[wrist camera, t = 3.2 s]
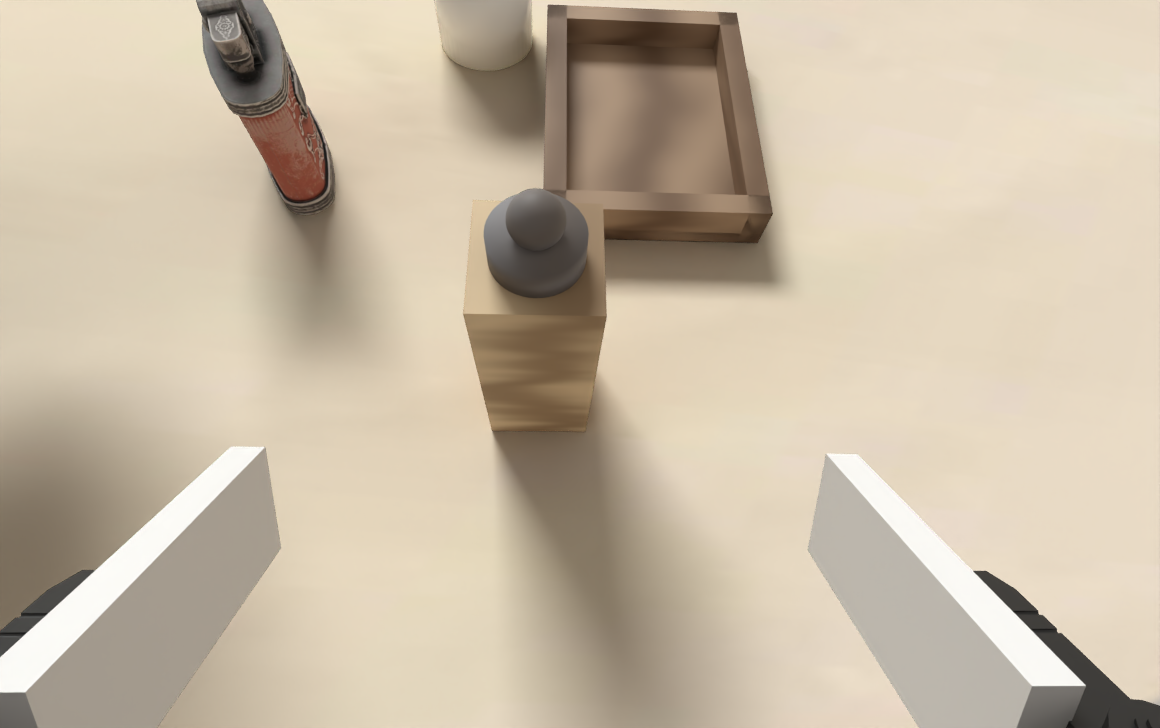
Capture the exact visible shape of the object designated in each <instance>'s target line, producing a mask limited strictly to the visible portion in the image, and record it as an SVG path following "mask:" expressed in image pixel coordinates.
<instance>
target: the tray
mask: <svg viewBox="0 0 1160 728" xmlns="http://www.w3.org/2000/svg"><path fill="white" fill-rule="evenodd" d="M543 190H546V191H549V192H551V193H552V194H555V195H558V196H560V197H563V198H564V199H566V200H568V201H569V202H571V203H595V204H603V216H604V239H626V240H667V241H707V242H748V243H758V241H759V239H760V237H761V235H762V233H763V231H764V229H765V228H766V226H767V224H768V222H769V220H770V218H771V216H772V214H773V212H772V207H771V201H770V196H769V190H768V185H767V179H766V174H765V168H764V163H763V157H762V151H761V146H760V140H759V135H758V129H757V124H756V118H755V113H754V107H753V101H752V96H751V90H750V85H749V79H748V74H747V68H746V63H745V57H744V52H743V46H742V40H741V35H740V29H739V24H738V18H737V13H727V12H704V11H681V10H658V9H635V8H612V7H589V6H566V5H548V14H547V57H546V101H545V144H544V187H543Z"/></svg>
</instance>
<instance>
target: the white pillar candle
mask: <svg viewBox="0 0 1160 728" xmlns="http://www.w3.org/2000/svg"><path fill="white" fill-rule="evenodd" d="M434 3H435V9H436V15H437V21H438V26H439V32H440V38H441V44H442V47H443V50H444V52H445V53H446V54H447V56H448V57H449V58H450V59H451V60H453V61H454V62H456V63H457V64H459V65H461V66H464V67H466V68H469V69H474V70H480V71H494V70H500V69H504V68H508V67H510V66H513V65H515V64H517V63H518V62H520V61H521V60H522V59H524V58H525V57H526V55H527V54H528V53H529V51H530V49H531V47H532V41H533V39H532V0H434Z"/></svg>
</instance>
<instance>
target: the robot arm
mask: <svg viewBox="0 0 1160 728" xmlns="http://www.w3.org/2000/svg"><path fill="white" fill-rule="evenodd" d="M280 549H281V544H280V538H279V531H278V525H277V519H276V512H275V506H274V500H273V493H272V487H271V481H270V474H269V468H268V462H267V455H266V449H265V447H230V448H229V449H228V450H227V451H226V452H225V453H223V454H222V455H221V456H220V457H219V458H218V459H217V460H216V461H215V462H214V463H212V464H211V465H210V466H209V467H208V468H207V469H206V470H205V471H204V472H203V473H202V474H200V475H199V476H198V477H197V478H196V479H195V480H194V481H193V482H192V483H191V484H189V485H188V486H187V487H186V488H185V489H184V490H183V491H182V492H181V493H180V494H179V495H177V496H176V497H175V498H174V499H173V500H172V501H171V502H170V503H169V504H168V505H166V506H165V507H164V508H163V509H162V510H161V511H160V512H159V513H158V514H157V515H156V516H154V517H153V518H152V519H151V520H150V521H149V522H148V523H147V524H146V525H145V526H143V527H142V528H141V529H140V530H139V531H138V532H137V533H136V534H135V535H134V536H133V537H131V538H130V539H129V540H128V541H127V542H126V543H125V544H124V545H123V546H122V547H120V548H119V549H118V550H117V551H116V552H115V553H114V554H113V555H112V556H111V557H110V558H108V559H107V560H106V561H105V562H104V563H103V564H102V565H101V566H100V567H99V568H97V569H96V570H82V571H80V572H78V573H77V574H75V575H73V576H71V577H70V578H68V579H66V580H64V581H63V582H61V583H59V584H57V585H56V586H54V587H52V588H50V589H49V590H47V591H46V592H45V593H44V594H43V595H41V596H40V597H39V598H38V599H37V600H36V601H34V602H33V603H32V604H31V605H30V606H29V607H27V608H26V609H25V610H24V611H23V612H22V613H21V616H20V618H15V619H14V620H12V621H11V622H10V623H9V624H8V625H7V626H6V627H4V628H3V629H2V630H1V631H0V728H157V727H158V726H159V724H160V723H161V721H162V720H163V718H164V717H165V715H166V714H167V713H168V711H169V710H170V708H171V707H172V705H173V704H174V702H175V701H176V700H177V698H178V697H179V695H180V694H181V692H182V691H183V689H184V688H185V687H186V685H187V684H188V682H189V681H190V679H191V678H192V676H193V675H194V673H195V672H196V671H197V669H198V668H199V666H200V665H201V663H202V662H203V660H204V659H205V658H206V656H207V655H208V653H209V652H210V650H211V649H212V647H213V646H214V645H215V643H216V642H217V640H218V639H219V637H220V636H221V634H222V633H223V631H224V630H225V629H226V627H227V626H228V624H229V623H230V621H231V620H232V618H233V617H234V616H235V614H236V613H237V611H238V610H239V608H240V607H241V605H242V604H243V603H244V601H245V600H246V598H247V597H248V595H249V594H250V592H251V591H252V590H253V588H254V587H255V585H256V584H257V582H258V581H259V579H260V578H261V576H262V575H263V574H264V572H265V571H266V569H267V568H268V566H269V565H270V563H271V562H272V561H273V559H274V558H275V556H276V555H277V553H278V552H279V550H280ZM808 552H809V553H810V555H811V556H812V558H813V560H814V561H815V563H816V564H817V566H818V568H819V569H820V571H821V572H822V574H823V576H824V577H825V579H826V580H827V582H828V584H829V585H830V587H831V588H832V590H833V592H834V593H835V595H836V596H837V598H838V600H839V601H840V603H841V604H842V606H843V608H844V609H845V611H846V612H847V614H848V615H849V617H850V619H851V620H852V622H853V623H854V625H855V627H856V628H857V630H858V631H859V633H860V635H861V636H862V638H863V639H864V641H865V643H866V644H867V646H868V647H869V649H870V651H871V652H872V654H873V655H874V657H875V659H876V660H877V662H878V663H879V665H880V667H881V668H882V670H883V671H884V673H885V674H886V676H887V678H888V679H889V681H890V682H891V684H892V686H893V687H894V689H895V690H896V692H897V694H898V695H899V697H900V698H901V700H902V702H903V703H904V705H905V706H906V708H907V710H908V711H909V713H910V714H911V716H912V718H913V719H914V721H915V722H916V724H917V726H918V727H919V728H1160V706H1159V705H1156V704H1152V703H1149V702H1146V701H1143V700H1133V699H1130V698H1129V697H1128V696H1127V695H1126V694H1125V693H1123V692H1122V691H1121V690H1120V689H1119V688H1118V687H1117V686H1116V685H1115V684H1114V683H1113V682H1112V681H1111V680H1110V679H1109V678H1108V677H1107V676H1106V675H1105V674H1104V673H1103V672H1102V671H1100V670H1099V669H1098V668H1097V667H1096V666H1095V665H1094V664H1093V663H1092V662H1091V661H1090V660H1089V659H1088V658H1087V657H1086V656H1085V655H1084V654H1083V653H1082V652H1081V651H1080V650H1079V649H1078V648H1076V647H1075V646H1074V645H1073V644H1072V643H1071V642H1070V641H1069V640H1068V639H1067V638H1066V637H1065V636H1064V635H1063V634H1062V633H1058V632H1057V628H1056V627H1055V626H1053V625H1052V624H1051V623H1050V622H1049V621H1048V620H1047V619H1046V618H1045V617H1044V616H1043V615H1039V614H1038V610H1037V609H1036V608H1035V607H1034V606H1033V605H1032V604H1031V603H1029V602H1028V601H1027V600H1026V599H1025V598H1024V597H1023V596H1022V595H1021V594H1020V593H1019V592H1018V591H1017V590H1016V589H1014V588H1013V587H1011V586H1010V585H1008V584H1006V583H1005V582H1003V581H1001V580H1000V579H998V578H997V577H995V576H993V575H992V574H990V573H989V572H987V571H972V570H971V569H970V568H969V567H968V566H967V565H966V564H965V563H964V562H963V561H962V560H961V559H960V558H959V557H958V556H957V555H956V554H955V553H954V552H953V551H952V550H951V549H950V547H949V546H948V545H947V544H946V543H945V542H944V541H943V540H942V539H941V538H940V537H939V536H938V535H937V534H936V533H935V532H934V531H933V530H932V529H931V528H930V527H929V526H928V525H927V524H926V523H925V522H924V521H923V520H922V519H921V518H920V517H919V516H918V515H917V514H916V513H915V512H914V511H913V510H912V509H911V508H910V507H909V506H908V505H907V504H906V503H905V502H904V501H903V500H902V499H901V498H900V497H899V496H898V495H897V494H896V493H895V492H894V491H893V490H892V489H891V488H890V487H889V486H888V485H887V484H886V483H885V482H884V481H883V480H882V479H881V478H880V477H879V476H878V475H877V474H876V473H875V472H874V471H873V470H872V469H871V468H870V467H869V466H868V465H867V463H866V462H865V461H864V460H863V459H862V458H861V457H860V456H859V455H858V454H826V456H825V462H824V467H823V472H822V478H821V483H820V488H819V493H818V499H817V504H816V509H815V514H814V520H813V525H812V530H811V536H810V541H809V546H808Z"/></svg>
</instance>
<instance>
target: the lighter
mask: <svg viewBox="0 0 1160 728" xmlns="http://www.w3.org/2000/svg"><path fill="white" fill-rule="evenodd" d="M196 2H197V5H198V8H199V11H200V13H201V15H202V23H203V24H202V36H203V51H204V54H205V58H206V61H207V64H208V68H209V71H210V74H211V76H212V78H213V80H214V82H215V84H216V86H217V88H218V90H219V91H220V93H221V95H222V97H223V99H224V100H225V102H226V104H227V106H228V107H229V109H230V110H231V111H232V112H233V113H234V114H236V115H239V117H240V119H241V121H242V122H243V124H244V126H245V127H246V129H247V131H248V133H249V134H250V136H251V138H252V140H253V141H254V143H255V145H256V147H257V148H258V150H259V152H260V153H261V155H262V157H263V159H264V160H265V162H266V164H267V166H268V170H269V173H270V176H271V178H272V180H273V182H274V184H275V186H276V188H277V190H278V192H279V194H280V196H281V197H282V199H283V201H284V202H285V204H286V206H287V207H288V209H289V210H290V211H291V212H294V213H296V214H300V215H310V214H316V213H318V212H321V211H323V210H325V209H326V208H327V207H329V206H330V205H331V203H332V202H333V200H334V196H335V175H334V169H333V163H332V157H331V153H330V150H329V148H328V145H327V142H326V140H325V137H324V135H323V132H322V130H321V128H320V125H319V123H318V121H317V120H316V118H315V116H314V115H313V113H312V111H311V110H310V108H309V106H308V105H307V104H306V98H305V94H304V91H303V88H302V86H301V83H300V80H299V78H298V75H297V73H296V71H295V68H294V66H293V64H292V61H291V59H290V57H289V55H288V53H287V52H286V50H285V47H284V44H283V42H282V39H281V37H280V34H279V31H278V29H277V26H276V24H275V22H274V19H273V17H272V15H271V13H270V12H269V10H268V8H267V7H266V5H265V3H264V2H263V0H196Z"/></svg>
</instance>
